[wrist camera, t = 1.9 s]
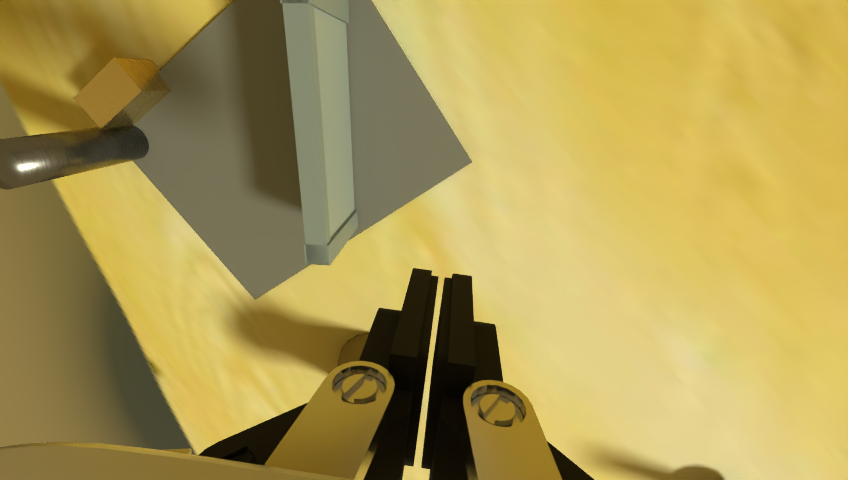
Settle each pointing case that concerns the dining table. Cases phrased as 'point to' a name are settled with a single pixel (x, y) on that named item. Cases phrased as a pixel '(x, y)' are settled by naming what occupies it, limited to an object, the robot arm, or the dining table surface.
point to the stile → (96, 147)
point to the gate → (321, 123)
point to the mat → (284, 137)
